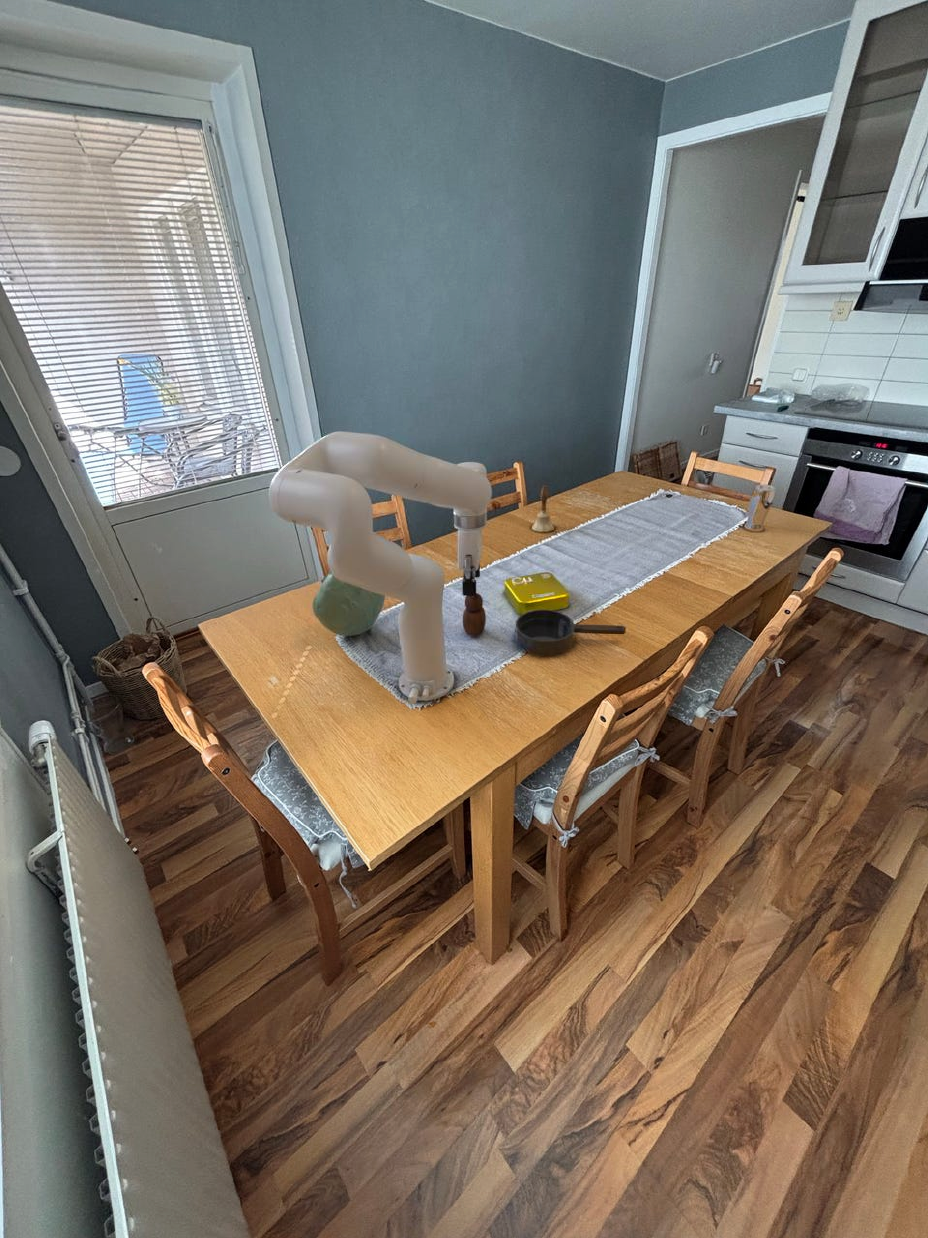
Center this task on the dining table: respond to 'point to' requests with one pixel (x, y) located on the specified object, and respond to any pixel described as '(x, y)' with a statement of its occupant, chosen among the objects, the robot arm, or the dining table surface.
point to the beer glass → (759, 507)
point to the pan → (544, 632)
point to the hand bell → (543, 515)
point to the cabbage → (346, 607)
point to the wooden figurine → (474, 615)
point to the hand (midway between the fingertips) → (471, 585)
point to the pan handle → (600, 629)
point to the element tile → (536, 592)
